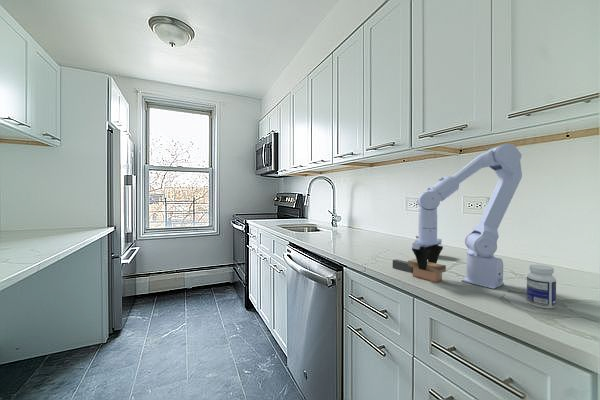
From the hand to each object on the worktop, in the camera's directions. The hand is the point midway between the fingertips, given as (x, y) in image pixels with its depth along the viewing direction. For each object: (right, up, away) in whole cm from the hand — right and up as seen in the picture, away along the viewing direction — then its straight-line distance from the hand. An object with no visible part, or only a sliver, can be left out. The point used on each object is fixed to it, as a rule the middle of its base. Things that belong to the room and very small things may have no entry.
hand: (427, 267), depth 93 cm
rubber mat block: (-4, -3, +11) cm, 12 cm away
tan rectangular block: (0, -4, 0) cm, 4 cm away
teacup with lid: (+14, -3, +35) cm, 38 cm away
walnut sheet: (0, 0, 0) cm, 1 cm away
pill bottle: (+19, -4, -22) cm, 29 cm away
